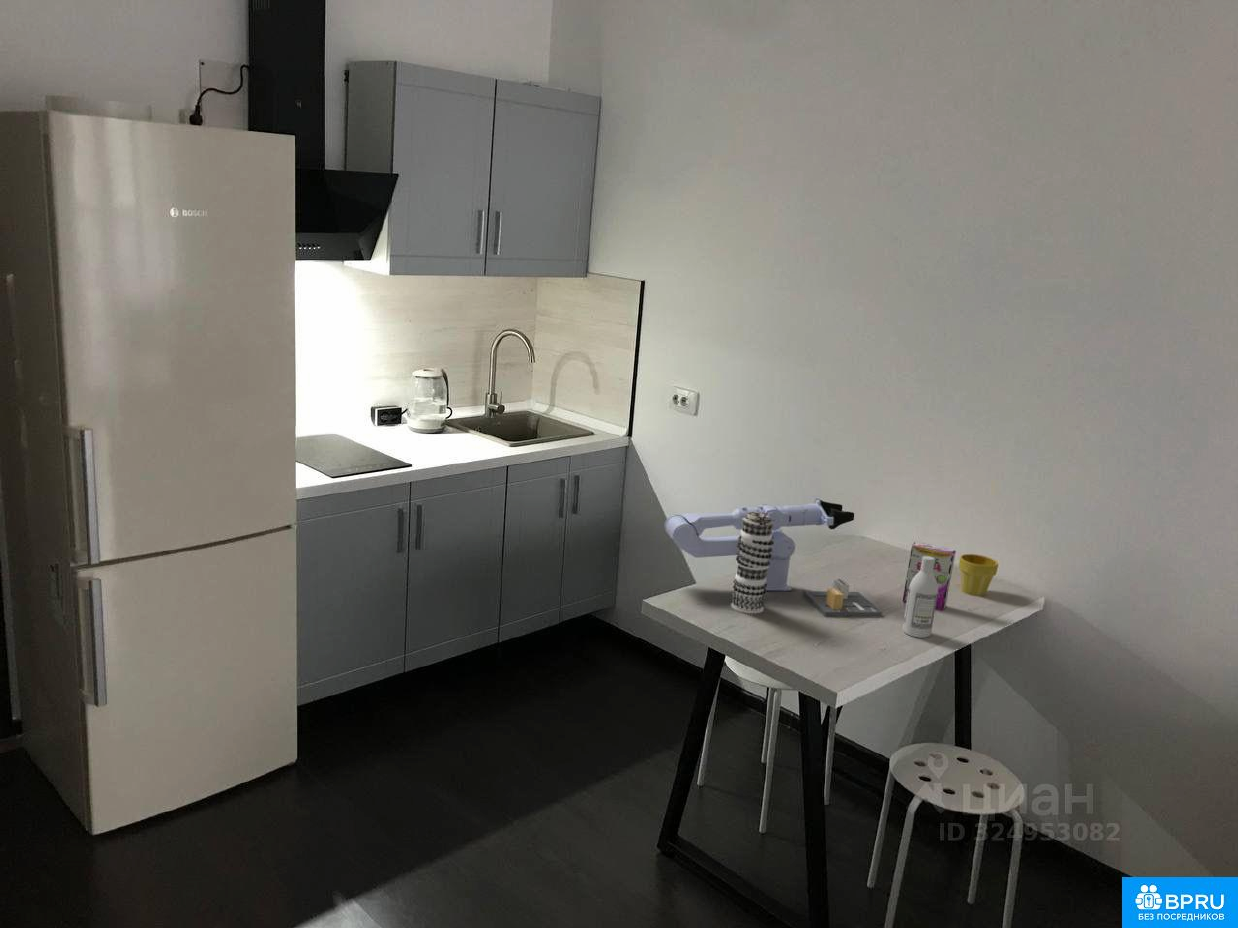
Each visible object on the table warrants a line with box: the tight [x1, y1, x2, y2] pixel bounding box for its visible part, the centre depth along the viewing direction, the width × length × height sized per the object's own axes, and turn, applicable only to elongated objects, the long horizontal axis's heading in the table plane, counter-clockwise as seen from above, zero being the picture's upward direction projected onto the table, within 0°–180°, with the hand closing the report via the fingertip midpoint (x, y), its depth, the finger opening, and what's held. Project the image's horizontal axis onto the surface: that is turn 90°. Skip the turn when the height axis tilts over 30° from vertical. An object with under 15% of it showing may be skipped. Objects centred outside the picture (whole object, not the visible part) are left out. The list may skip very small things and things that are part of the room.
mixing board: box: [802, 590, 883, 618], centre depth 275 cm, size 16×15×1 cm
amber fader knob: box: [826, 587, 844, 609], centre depth 270 cm, size 2×4×4 cm, turn 12°
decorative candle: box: [730, 512, 774, 614], centre depth 265 cm, size 9×9×25 cm
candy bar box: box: [902, 541, 957, 612], centre depth 280 cm, size 11×5×16 cm, turn 65°
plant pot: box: [958, 553, 999, 597], centre depth 295 cm, size 10×10×10 cm
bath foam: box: [902, 556, 938, 639], centre depth 258 cm, size 7×7×20 cm
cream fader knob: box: [832, 578, 850, 599], centre depth 278 cm, size 2×4×4 cm, turn 12°
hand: (847, 512), depth 285 cm, fingers open, 7 cm apart
